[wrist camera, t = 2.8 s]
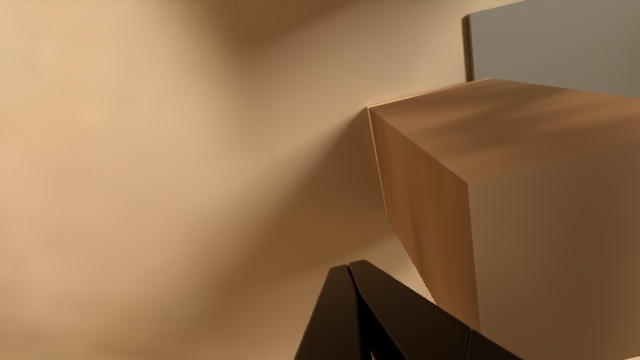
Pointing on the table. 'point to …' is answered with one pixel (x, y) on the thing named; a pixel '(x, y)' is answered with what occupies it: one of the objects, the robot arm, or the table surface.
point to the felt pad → (560, 44)
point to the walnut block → (520, 211)
